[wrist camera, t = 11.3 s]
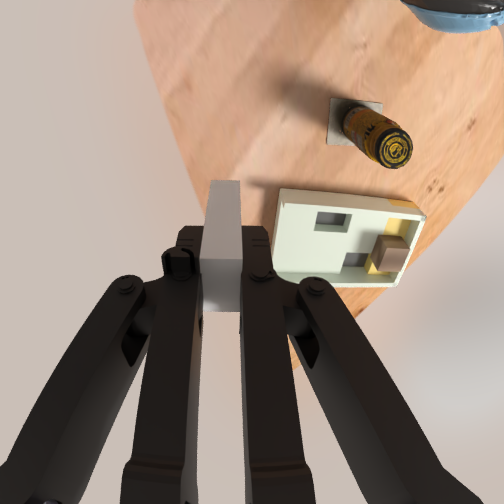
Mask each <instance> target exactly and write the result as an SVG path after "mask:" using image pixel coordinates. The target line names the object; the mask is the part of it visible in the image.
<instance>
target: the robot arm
mask: <svg viewBox="0 0 504 504" xmlns="http://www.w3.org/2000/svg"><path fill="white" fill-rule="evenodd" d="M400 1H401V2H402V3H403V4H405V5H406V6H408V8H409V9H410V10H411V11H412V12H413V13H414V15H415V16H416V17H417V18H418V19H419V20H420V21H421V22H422V23H423V24H425V25H427V26H428V27H430V28H432V29H434V30H437V31H441V32H445V33H474V32H480V31H485V30H488V29H491V26H500V25H502V24H503V23H504V0H400ZM161 258H162V265H163V271H164V276H163V277H161V278H159V279H156V280H153V281H149V282H144V283H143V281H142V280H141V278H140V277H137V276H135V275H125V276H121V277H119V278H117V279H116V280H114V281H113V282H112V283H111V285H110V286H109V287H108V289H107V290H106V292H105V293H104V295H103V296H102V298H101V299H100V300H99V302H98V303H97V305H96V306H95V308H94V309H93V310H92V312H91V313H90V315H89V316H88V318H87V319H86V321H85V323H84V324H83V325H82V327H81V328H80V330H79V331H78V333H77V335H76V336H75V337H74V339H73V341H72V342H71V344H70V345H69V347H68V349H67V350H66V352H65V353H64V355H63V357H62V358H61V360H60V362H59V363H58V365H57V366H56V368H55V370H54V371H53V373H52V375H51V377H50V378H49V380H48V382H47V383H46V385H45V387H44V389H43V390H42V392H41V394H40V396H39V397H38V399H37V401H36V403H35V405H34V407H33V408H32V410H31V412H30V414H29V416H28V418H27V420H26V422H25V424H24V425H23V428H22V429H21V431H20V433H19V435H18V438H17V439H16V441H15V444H14V446H13V448H12V450H11V452H10V454H9V456H8V458H7V461H6V462H4V464H3V465H1V466H0V504H78V503H79V502H80V500H81V498H82V496H83V494H84V492H85V489H86V487H87V485H88V482H89V480H90V477H91V475H92V472H93V470H94V468H95V465H96V463H97V460H98V458H99V455H100V453H101V451H102V448H103V446H104V444H105V442H106V439H107V437H108V435H109V432H110V430H111V428H112V426H113V423H114V421H115V419H116V417H117V414H118V412H119V410H120V408H121V406H122V403H123V401H124V399H125V397H126V395H127V392H128V390H129V388H130V386H131V384H132V382H133V380H134V378H135V375H136V373H137V371H138V369H139V367H140V365H141V363H142V361H143V359H144V356H145V355H146V353H147V356H146V362H145V367H144V373H143V379H142V385H141V391H140V397H139V404H138V411H137V417H136V425H135V433H134V441H133V449H132V455H131V458H130V460H129V461H128V462H127V463H126V464H125V467H124V469H123V475H122V483H121V495H120V504H198V488H197V435H198V432H197V431H198V406H199V384H200V365H201V349H202V334H203V311H218V312H240V331H239V334H240V347H241V383H242V412H243V437H244V438H243V439H244V461H245V462H244V463H245V502H246V504H316V500H315V492H314V484H313V478H312V473H311V470H310V468H309V466H308V465H307V464H306V461H305V457H304V451H303V443H302V435H301V429H300V421H299V413H298V406H297V399H296V392H295V385H294V378H293V371H292V364H291V357H290V350H289V344H288V337H287V334H288V335H289V338H290V341H291V343H292V345H293V347H294V349H295V351H296V353H297V356H298V358H299V360H300V362H301V364H302V366H303V368H304V370H305V373H306V375H307V377H308V379H309V381H310V383H311V386H312V388H313V390H314V392H315V394H316V396H317V398H318V400H319V403H320V405H321V407H322V409H323V411H324V413H325V415H326V417H327V420H328V422H329V424H330V426H331V428H332V430H333V433H334V435H335V437H336V439H337V441H338V443H339V445H340V447H341V450H342V452H343V454H344V456H345V458H346V460H347V462H348V465H349V466H350V469H351V471H352V473H353V475H354V477H355V479H356V481H357V484H358V486H359V488H360V490H361V492H362V494H363V496H364V498H365V499H366V501H367V503H368V504H483V502H482V501H481V499H480V498H479V497H477V496H476V495H475V494H474V493H473V492H471V491H470V490H469V489H468V488H467V487H465V486H464V485H463V484H462V483H461V482H459V481H458V480H457V479H456V478H455V477H454V476H452V475H451V474H450V473H449V472H448V471H447V470H445V469H444V468H443V467H442V465H441V463H440V461H439V460H438V458H437V456H436V454H435V452H434V450H433V449H432V447H431V445H430V443H429V441H428V440H427V438H426V436H425V434H424V432H423V431H422V429H421V427H420V425H419V424H418V422H417V420H416V419H415V417H414V415H413V413H412V412H411V410H410V408H409V406H408V405H407V403H406V402H405V400H404V398H403V396H402V395H401V393H400V392H399V390H398V388H397V386H396V385H395V383H394V381H393V380H392V378H391V376H390V375H389V373H388V371H387V370H386V368H385V367H384V365H383V363H382V362H381V360H380V359H379V357H378V355H377V354H376V352H375V351H374V349H373V347H372V346H371V344H370V343H369V341H368V339H367V338H366V336H365V335H364V333H363V332H362V330H361V329H360V327H359V325H358V324H357V323H356V321H355V319H354V318H353V316H352V315H351V313H350V312H349V310H348V309H347V307H346V305H345V304H344V302H343V301H342V299H341V298H340V296H339V295H338V293H337V292H336V290H335V289H334V287H333V286H332V285H331V284H330V283H329V282H328V281H327V280H325V279H323V278H320V277H316V276H313V277H306V278H304V279H302V280H301V281H300V282H299V284H298V283H294V282H290V281H287V280H284V279H283V278H281V277H279V276H278V275H277V273H276V271H275V270H274V268H273V262H272V255H271V249H270V243H269V236H268V232H267V231H266V230H265V229H264V227H263V226H241V202H240V181H234V180H211V185H210V191H209V197H208V203H207V210H206V216H205V224H204V226H184V227H183V228H182V229H181V230H180V231H179V233H178V237H177V241H176V246H175V247H172V248H169V249H167V250H166V251H165V252H164V253H163V254H162V256H161Z"/></svg>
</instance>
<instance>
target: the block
mask: <svg viewBox="0 0 504 504" xmlns="http://www.w3.org/2000/svg"><path fill="white" fill-rule="evenodd" d="M409 252H410V248H409V246H408V245H407V244H406V242H405V241H404V239H403V238H402V237H401V236H393V235H379V234H378V236H377V239H376V242H375V245H374V247H373V250H372V253H371V256H370V258H371V260H372V262H373V264H374V266H375V268H376V269H377V271H389V272H401V270H402V267H403V265H404V263H405V261H406V258H407V256H408V254H409Z"/></svg>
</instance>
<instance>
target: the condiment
mask: <svg viewBox="0 0 504 504" xmlns="http://www.w3.org/2000/svg"><path fill="white" fill-rule="evenodd" d="M349 107H350V108H349ZM382 108H383V104H380V103H373V102H366V101H357V100H348V99H336V98H331V101H330V113H329V124H328V135H327V144H330V145H349V146H357V147H358V148H359V150H361V151H362V152H363V153H364V154H365V155H366V156H368V157H369V158H370V159H372V160H373V161H375V162H377V163H380V164H381V165H382V166H384V167H386V168H389V169H398V168H400V167H402V166H404V165H405V164H406V163H407V162H408V161H409V159H410V158H411V155H412V151H413V144H412V140H411V138H410V136H409V135H408V134H407V133H406V132H405V131H404V130H402V128H401V127H400V126H399V125H398V124H397V123H396V122H394V121H392V120H390V119H389V118H387V117H385V116H383V115H382ZM340 131H341V132H340ZM342 132H343V134H342Z"/></svg>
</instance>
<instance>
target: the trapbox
mask: <svg viewBox="0 0 504 504" xmlns="http://www.w3.org/2000/svg"><path fill="white" fill-rule="evenodd" d="M426 217H427V216H426V215H425V214H424V213H423V212H422V211H421V210H420V208H419V207H418V206H417V205H416V204H415V203H414V202H409V201H401V200H394V199H386V198H378V197H370V196H361V195H352V194H342V193H332V192H321V191H310V190H298V189H285V188H280V192H279V199H278V206H277V213H276V219H275V226H274V233H273V239H272V246H271V255H272V262H273V268H274V270H275V271H276V273H277V275H278V276H279V277H281V278H283V279H284V280H287V281H290V282H294V283H298V284H299V282H300V281H301V280H302V279H304V278H306V277H313V276H316V277H320V278H323V279H325V280H327V281H328V282H329V283H330V284H331V285H332V286H333V287H396V286H397V284H398V282H399V280H400V278H401V276H402V274H403V272H404V269H405V267H406V265H407V263H408V261H409V258H410V256H411V254H412V251H413V249H414V247H415V244H416V242H417V240H418V237H419V235H420V232H421V230H422V227H423V225H424V222H425V220H426ZM378 234H379V235H393V236H401V237H402V238H403V239H404V241H405V242H406V244H407V245H408V246H409V248H410V252H409V254H408V256H407V258H406V261H405V263H404V265H403V267H402V270H401V272H389V271H377V269H376V268H375V266H374V264H373V262H372V260H371V258H370V256H371V253H372V250H373V247H374V245H375V242H376V239H377V236H378Z"/></svg>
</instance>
